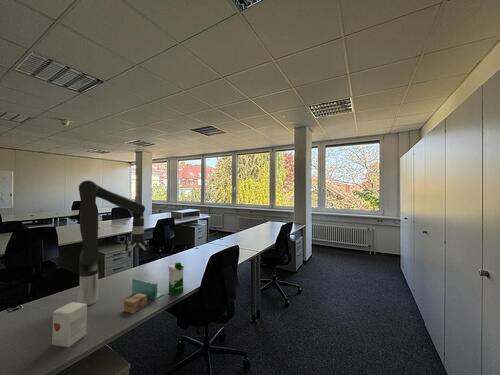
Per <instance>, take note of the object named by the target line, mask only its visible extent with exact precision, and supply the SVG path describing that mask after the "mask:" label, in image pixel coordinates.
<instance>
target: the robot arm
mask: <svg viewBox="0 0 500 375" xmlns="http://www.w3.org/2000/svg"><path fill="white" fill-rule="evenodd" d="M78 192H79V198H80V209H79V230H80V236H81V240H82V250H81V252H80V253H79V259H78V260H79V263H78V266H79V287H78V288H77V298H76V299H77V301H76V303H84V304H87V306H90V305H93V304H95V303H96V302H98V301H99V300H98V297H99V294H98V292H99V291H98V290H99V264H98V261H99V259H100V250H99V244H98V243H99V241H98V238H99V235H98V234H99V213H98V209H97V200H96V199H97V198H99V199H102V200H104V201H106V202H108V203H110V204H113V205H115V206H117V207H120V208H123V209H126V210H128V211H130V212H132V227H131V240H130V241H128V240H127V241H126V242H125V248H124V249H125V252H127V256H128V257H129V258H131V256H132V250H133V249H136V248H142V250H143V257H145V255H146V254H147V250H150V248H149V247H150V242H149V240H148V239H147V240H145V218H144V212H145V210H146V206H145V205H144V204H143V203H140V202H137V201H134V200H132V199H130V198H128V197H125V195H124V196H123V195H121V194H118V193H115V192H113V191H111V190H108V189H106V188H104V187H102V186H100V185H98V184H96V182H95V181H93V180H83V181H81V183H80V184H79V185H78ZM144 243H145V244H146V246H145V245H144ZM130 244H131V246H130V247H129V245H130Z"/></svg>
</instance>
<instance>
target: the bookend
mask: <svg viewBox="0 0 500 375" xmlns="http://www.w3.org/2000/svg"><path fill="white" fill-rule="evenodd" d="M131 285H132V286H131V295H132V296H134V295H136V294H137V293H140V294H145V295H147V300H153V301H156V300H158V299H160V298H161V297H163V296H164V295H165V293H162V292H158V283H157V282H154V281H148V280H144V279H139V278H133V279H132V284H131Z"/></svg>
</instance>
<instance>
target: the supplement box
mask: <svg viewBox="0 0 500 375" xmlns="http://www.w3.org/2000/svg"><path fill="white" fill-rule="evenodd" d="M87 311H88V305H87V304H84V303H77V302H76V301H75V302H74V301H73V302H72V301H71V302H69V303H67V304H66V305H65V304H64V306H61V307H60V308H57V309H56V310H54V311H53V312H52V340H51V342H52V343H51V345H52V346H58V347H65V348H70V347H71V346H73V345H74V344H76V343H77V342H78V341H80V339H82V338H83V337H85V336H86V335H87V320H88V319H87V318H88V317H87V314H88V312H87Z"/></svg>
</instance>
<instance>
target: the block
mask: <svg viewBox="0 0 500 375" xmlns="http://www.w3.org/2000/svg"><path fill="white" fill-rule="evenodd" d="M123 301H124V302H123V311H124V312H125V313H131V314H135V313H136V312H138V311H139V310H141V309H142V308H144V307H146V306H147V304H148V298H147V295H145V294H140V293H137V294H136V295H132V296H129V297H127V299H125V300H123Z"/></svg>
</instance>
